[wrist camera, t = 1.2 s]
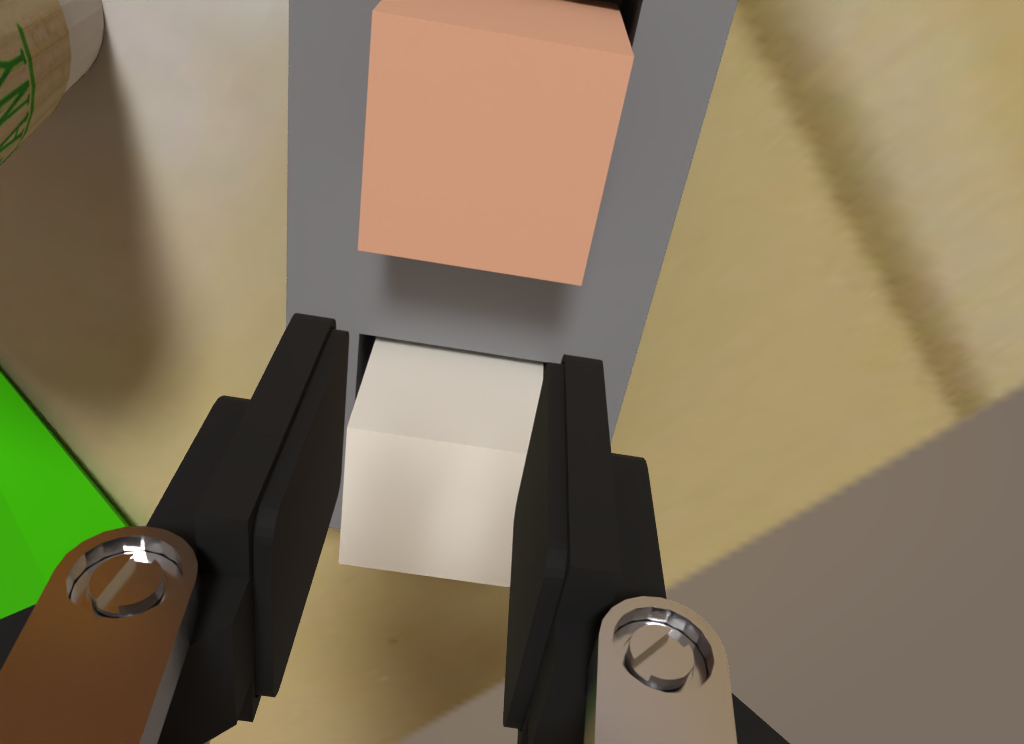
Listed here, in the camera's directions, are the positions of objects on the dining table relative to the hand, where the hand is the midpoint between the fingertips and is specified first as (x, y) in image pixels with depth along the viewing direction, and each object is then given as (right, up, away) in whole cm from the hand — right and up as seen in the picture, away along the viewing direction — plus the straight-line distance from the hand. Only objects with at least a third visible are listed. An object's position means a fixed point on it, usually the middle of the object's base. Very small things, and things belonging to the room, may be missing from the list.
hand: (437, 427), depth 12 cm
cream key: (-1, 0, +21) cm, 21 cm away
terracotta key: (+1, +9, +14) cm, 17 cm away
